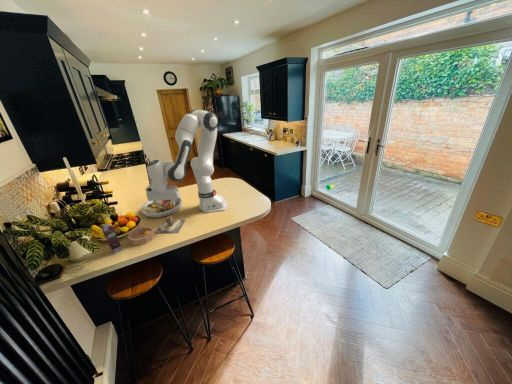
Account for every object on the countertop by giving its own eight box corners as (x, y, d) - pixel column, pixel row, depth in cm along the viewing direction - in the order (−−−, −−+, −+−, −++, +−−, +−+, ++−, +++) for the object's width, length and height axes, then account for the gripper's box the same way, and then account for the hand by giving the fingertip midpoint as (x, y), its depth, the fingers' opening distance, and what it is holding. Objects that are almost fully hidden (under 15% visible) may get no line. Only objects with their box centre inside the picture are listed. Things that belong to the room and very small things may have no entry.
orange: (145, 236, 138) (152, 236, 139) (143, 239, 134) (150, 238, 135) (144, 229, 137) (152, 229, 138) (142, 232, 133) (150, 232, 134)
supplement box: (109, 248, 129) (99, 226, 122) (118, 243, 132) (109, 222, 125) (114, 254, 123) (104, 231, 117) (123, 249, 127) (114, 227, 120)
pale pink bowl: (184, 219, 152) (182, 211, 149) (177, 231, 140) (175, 222, 137) (165, 220, 153) (162, 212, 150) (156, 232, 140) (153, 223, 137)
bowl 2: (174, 219, 155) (171, 210, 152) (134, 219, 158) (131, 210, 154) (188, 200, 182) (186, 191, 179) (154, 200, 184) (152, 192, 181)
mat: (185, 220, 153) (185, 219, 153) (178, 232, 139) (177, 232, 139) (164, 220, 154) (164, 220, 153) (155, 233, 140) (155, 232, 140)
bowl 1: (158, 231, 142) (156, 226, 141) (147, 244, 130) (146, 239, 128) (137, 231, 143) (135, 226, 141) (125, 245, 130) (123, 240, 129)
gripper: (178, 183, 136) (183, 201, 142) (147, 185, 137) (153, 203, 143) (175, 187, 130) (180, 206, 136) (142, 189, 131) (149, 208, 138)
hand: (166, 205), depth 140 cm, fingers open, 8 cm apart
